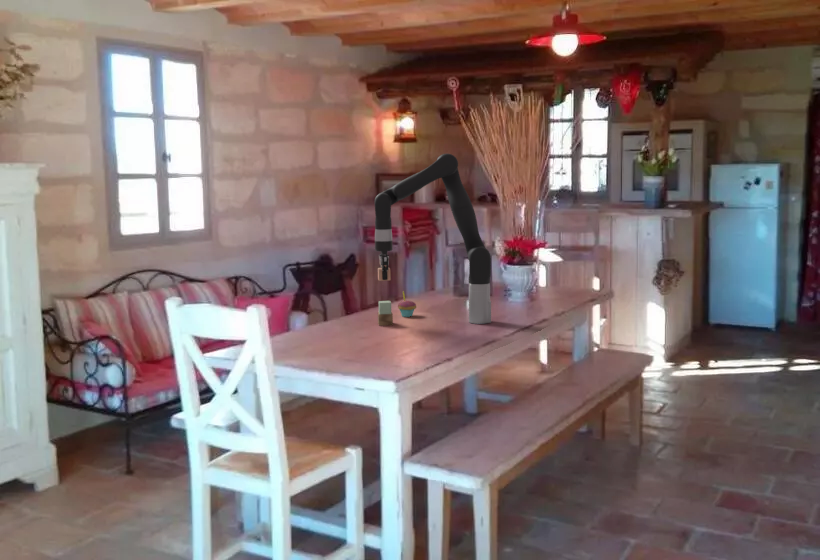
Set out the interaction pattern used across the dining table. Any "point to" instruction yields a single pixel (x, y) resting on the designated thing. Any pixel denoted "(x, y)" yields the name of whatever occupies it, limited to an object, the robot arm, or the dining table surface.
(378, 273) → the tan block
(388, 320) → the walnut base
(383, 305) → the sage block
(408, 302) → the cupcake
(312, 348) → the dining table surface
